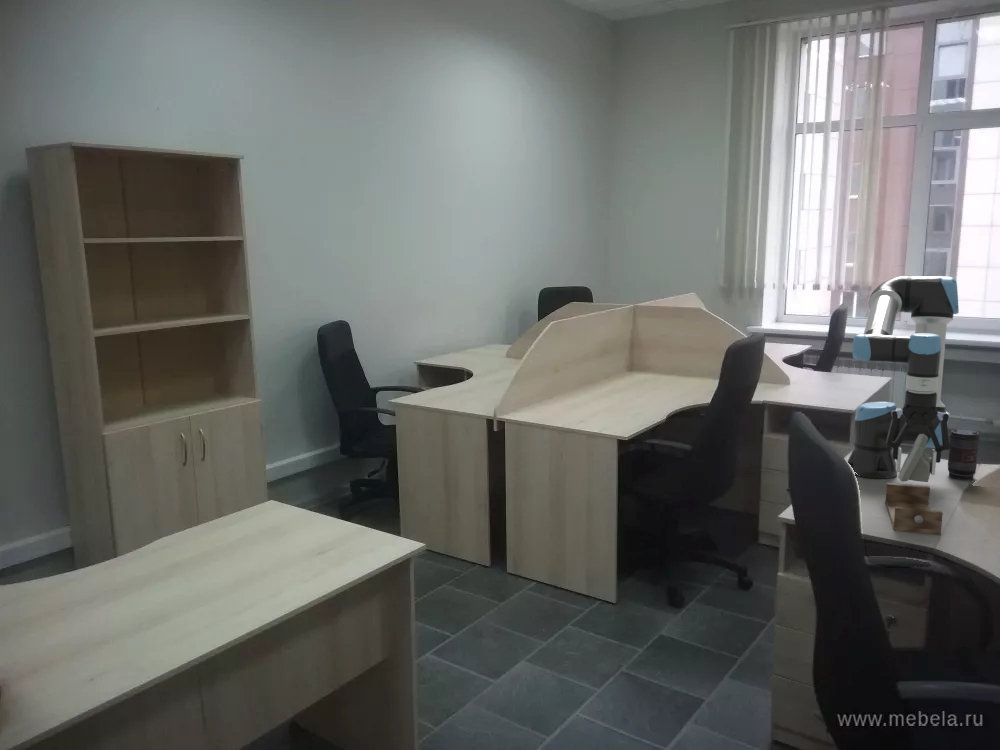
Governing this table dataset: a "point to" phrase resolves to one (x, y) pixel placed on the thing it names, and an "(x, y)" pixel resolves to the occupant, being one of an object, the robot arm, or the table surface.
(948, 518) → the table surface
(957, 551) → the table surface
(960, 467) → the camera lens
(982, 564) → the table surface
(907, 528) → the walnut holder
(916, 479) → the digital clock
